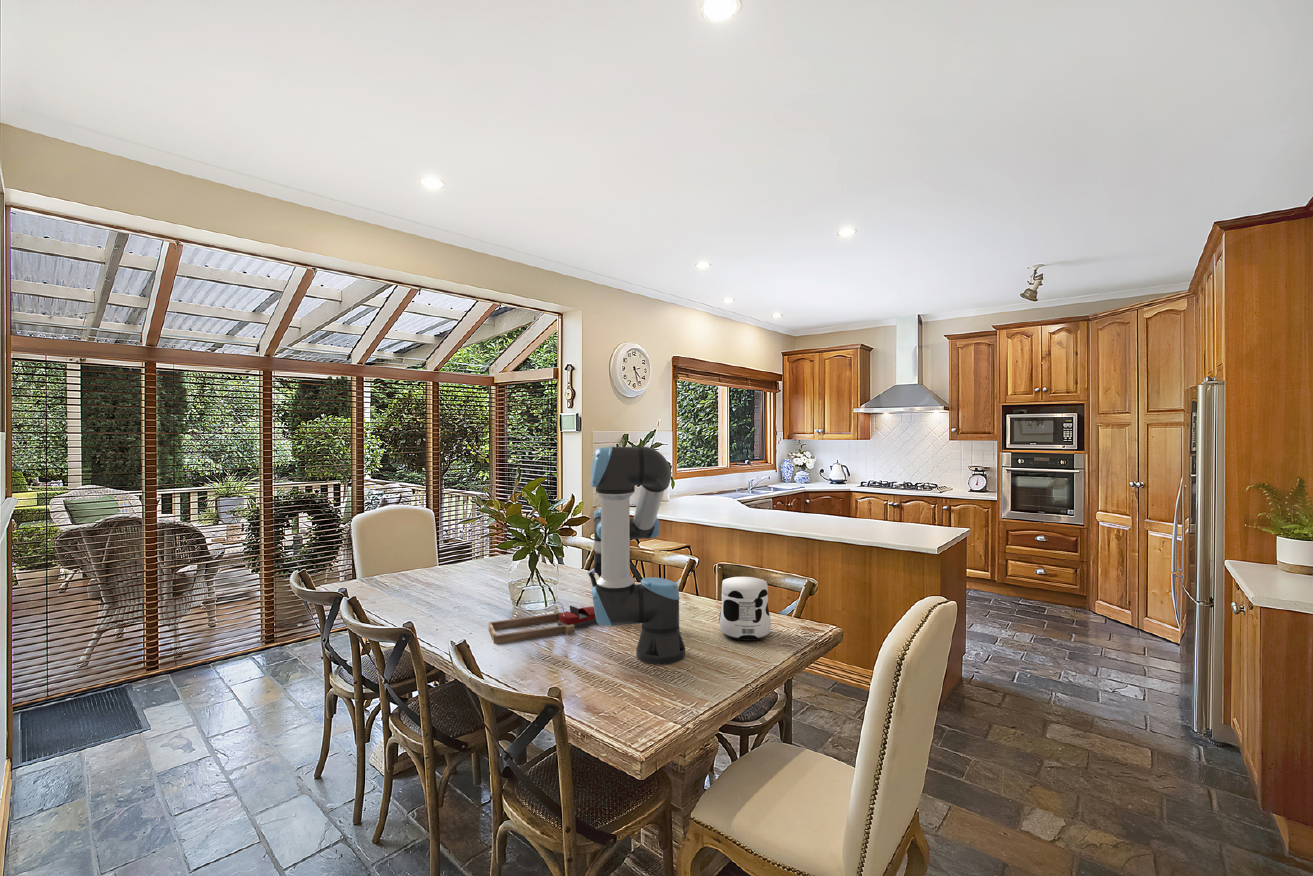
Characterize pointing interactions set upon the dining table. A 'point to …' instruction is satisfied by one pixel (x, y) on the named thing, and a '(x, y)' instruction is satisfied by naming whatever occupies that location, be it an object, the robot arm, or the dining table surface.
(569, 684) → the dining table surface
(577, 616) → the bumper car
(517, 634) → the cradle
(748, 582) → the milk container
